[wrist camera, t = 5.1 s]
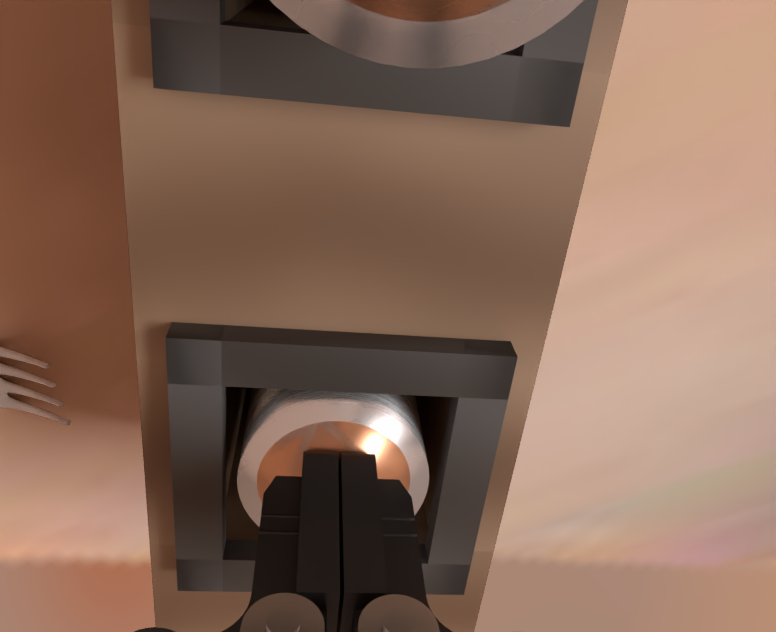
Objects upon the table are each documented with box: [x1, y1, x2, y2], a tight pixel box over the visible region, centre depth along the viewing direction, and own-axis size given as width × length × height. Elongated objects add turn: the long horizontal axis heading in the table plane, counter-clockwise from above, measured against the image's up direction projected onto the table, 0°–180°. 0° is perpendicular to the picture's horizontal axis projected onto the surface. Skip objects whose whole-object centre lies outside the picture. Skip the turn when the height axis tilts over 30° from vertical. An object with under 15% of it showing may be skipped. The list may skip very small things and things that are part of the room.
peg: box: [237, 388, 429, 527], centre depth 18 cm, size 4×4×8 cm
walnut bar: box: [111, 0, 628, 632], centre depth 16 cm, size 22×8×9 cm, turn 174°
